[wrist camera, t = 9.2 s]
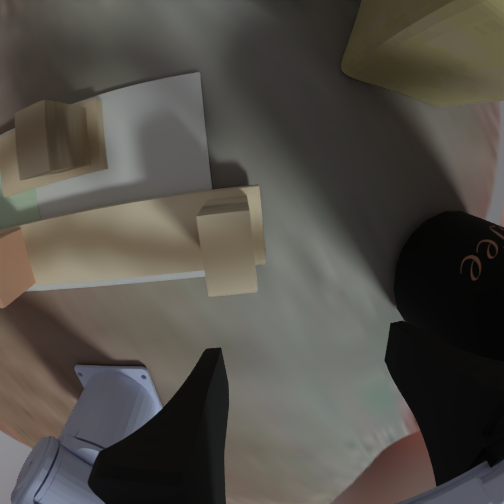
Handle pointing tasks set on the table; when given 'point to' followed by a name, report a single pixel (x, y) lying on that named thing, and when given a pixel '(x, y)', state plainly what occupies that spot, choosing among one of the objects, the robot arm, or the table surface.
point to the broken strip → (52, 145)
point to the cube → (14, 267)
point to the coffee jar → (455, 282)
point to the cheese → (430, 49)
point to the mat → (130, 161)
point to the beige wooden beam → (154, 240)
